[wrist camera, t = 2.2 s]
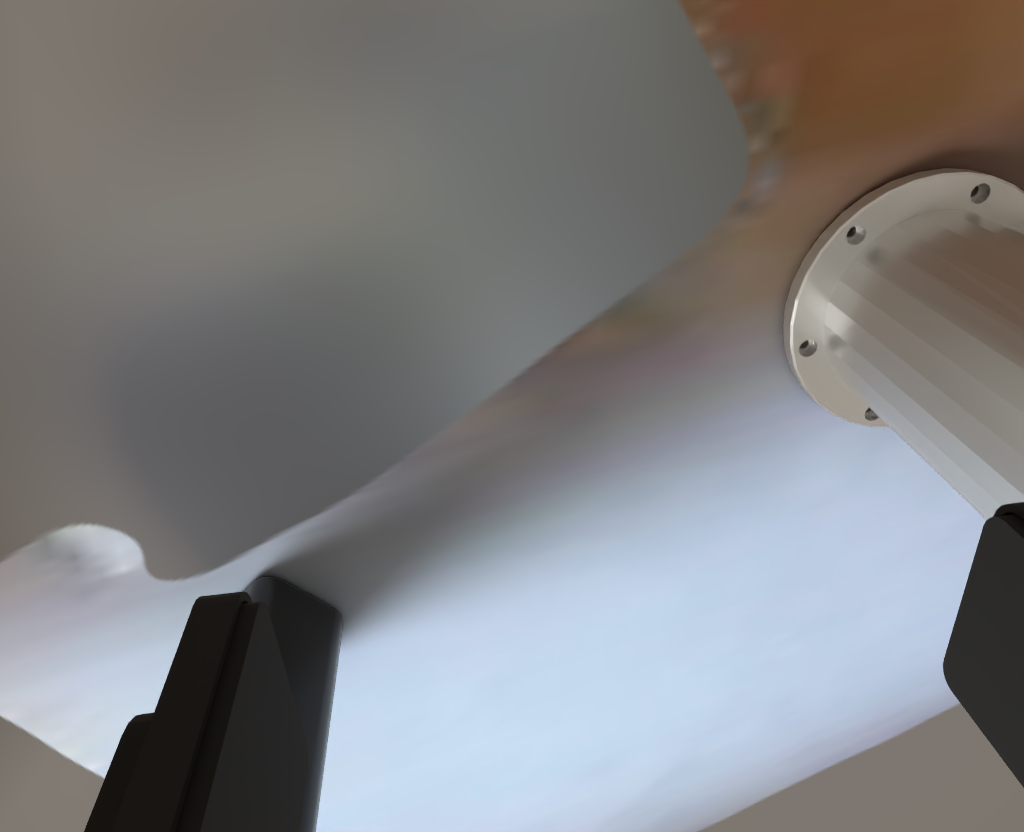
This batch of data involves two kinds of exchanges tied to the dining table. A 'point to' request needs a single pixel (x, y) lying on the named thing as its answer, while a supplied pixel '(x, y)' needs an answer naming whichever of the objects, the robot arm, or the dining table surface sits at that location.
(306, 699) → the wine bottle
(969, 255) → the robot arm
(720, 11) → the dining table surface
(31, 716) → the dining table surface
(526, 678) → the dining table surface
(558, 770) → the dining table surface
